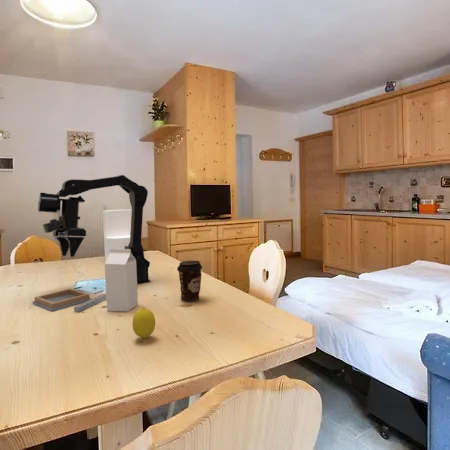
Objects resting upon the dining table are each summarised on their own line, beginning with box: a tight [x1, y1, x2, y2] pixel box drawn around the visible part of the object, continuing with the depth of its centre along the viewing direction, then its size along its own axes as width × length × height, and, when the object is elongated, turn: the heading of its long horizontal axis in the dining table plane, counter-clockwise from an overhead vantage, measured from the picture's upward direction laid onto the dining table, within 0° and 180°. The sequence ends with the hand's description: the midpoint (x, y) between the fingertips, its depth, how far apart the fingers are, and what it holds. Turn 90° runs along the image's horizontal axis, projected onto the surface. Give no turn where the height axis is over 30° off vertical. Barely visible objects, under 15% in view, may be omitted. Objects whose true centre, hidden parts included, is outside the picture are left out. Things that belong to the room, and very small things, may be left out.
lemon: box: [132, 307, 156, 340], centre depth 84 cm, size 6×6×8 cm
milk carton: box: [104, 249, 139, 312], centre depth 108 cm, size 7×7×19 cm
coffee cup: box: [176, 260, 203, 303], centre depth 115 cm, size 9×8×13 cm
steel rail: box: [73, 293, 107, 313], centre depth 112 cm, size 14×2×2 cm, turn 164°
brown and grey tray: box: [31, 288, 93, 313], centre depth 115 cm, size 14×14×2 cm
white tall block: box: [102, 208, 132, 263], centre depth 184 cm, size 17×17×28 cm
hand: (67, 256), depth 123 cm, fingers open, 9 cm apart
